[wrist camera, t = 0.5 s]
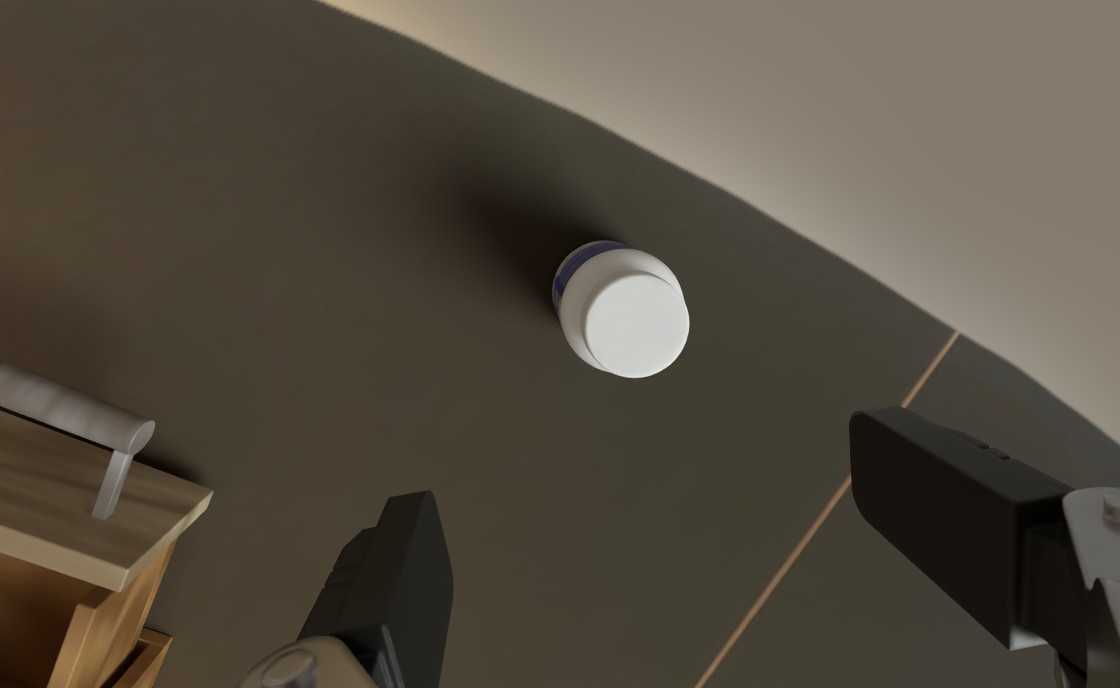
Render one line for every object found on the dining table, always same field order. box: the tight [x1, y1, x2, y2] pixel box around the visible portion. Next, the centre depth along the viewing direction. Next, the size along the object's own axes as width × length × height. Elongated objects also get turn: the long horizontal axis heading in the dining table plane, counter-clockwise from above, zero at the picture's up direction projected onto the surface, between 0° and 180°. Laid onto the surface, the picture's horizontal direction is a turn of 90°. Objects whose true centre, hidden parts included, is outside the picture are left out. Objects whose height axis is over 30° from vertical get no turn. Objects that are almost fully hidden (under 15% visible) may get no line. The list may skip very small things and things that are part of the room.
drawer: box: [0, 361, 213, 688], centre depth 27 cm, size 20×11×7 cm, turn 154°
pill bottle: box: [552, 241, 689, 378], centre depth 26 cm, size 5×5×9 cm
